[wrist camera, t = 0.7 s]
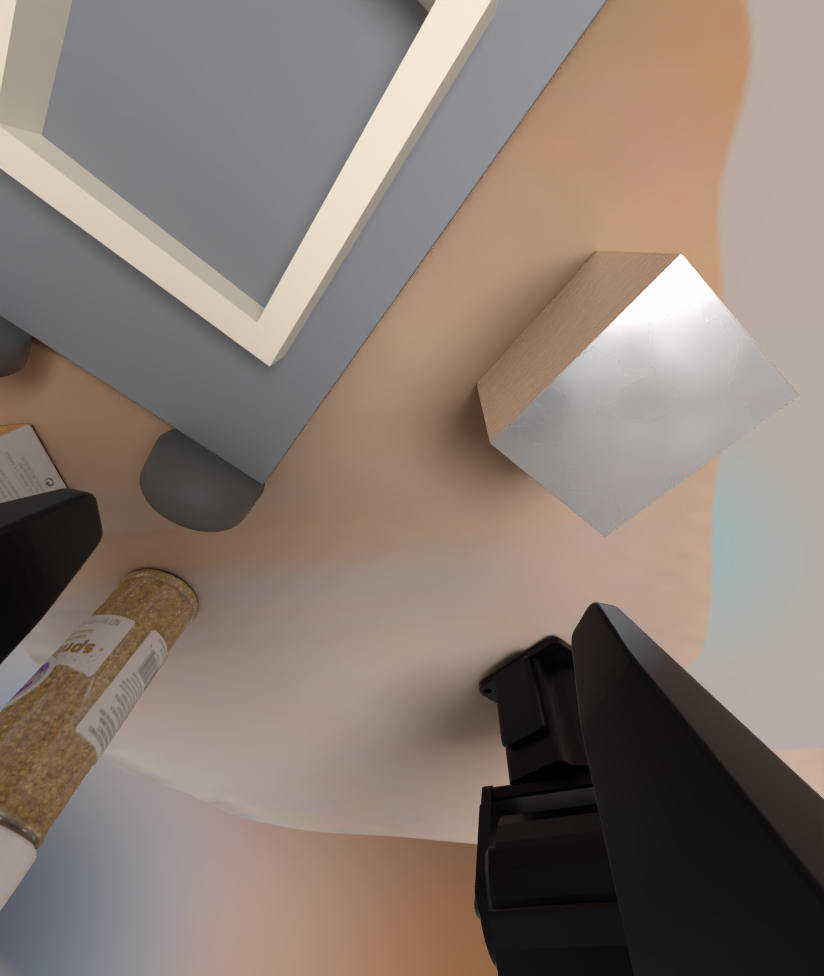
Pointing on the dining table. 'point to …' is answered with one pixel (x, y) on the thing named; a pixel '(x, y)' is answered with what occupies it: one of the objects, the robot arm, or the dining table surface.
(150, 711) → the dining table surface
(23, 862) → the sprinkles bottle
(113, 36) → the chassis
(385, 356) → the dining table surface
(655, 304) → the block
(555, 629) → the dining table surface
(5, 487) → the small box
